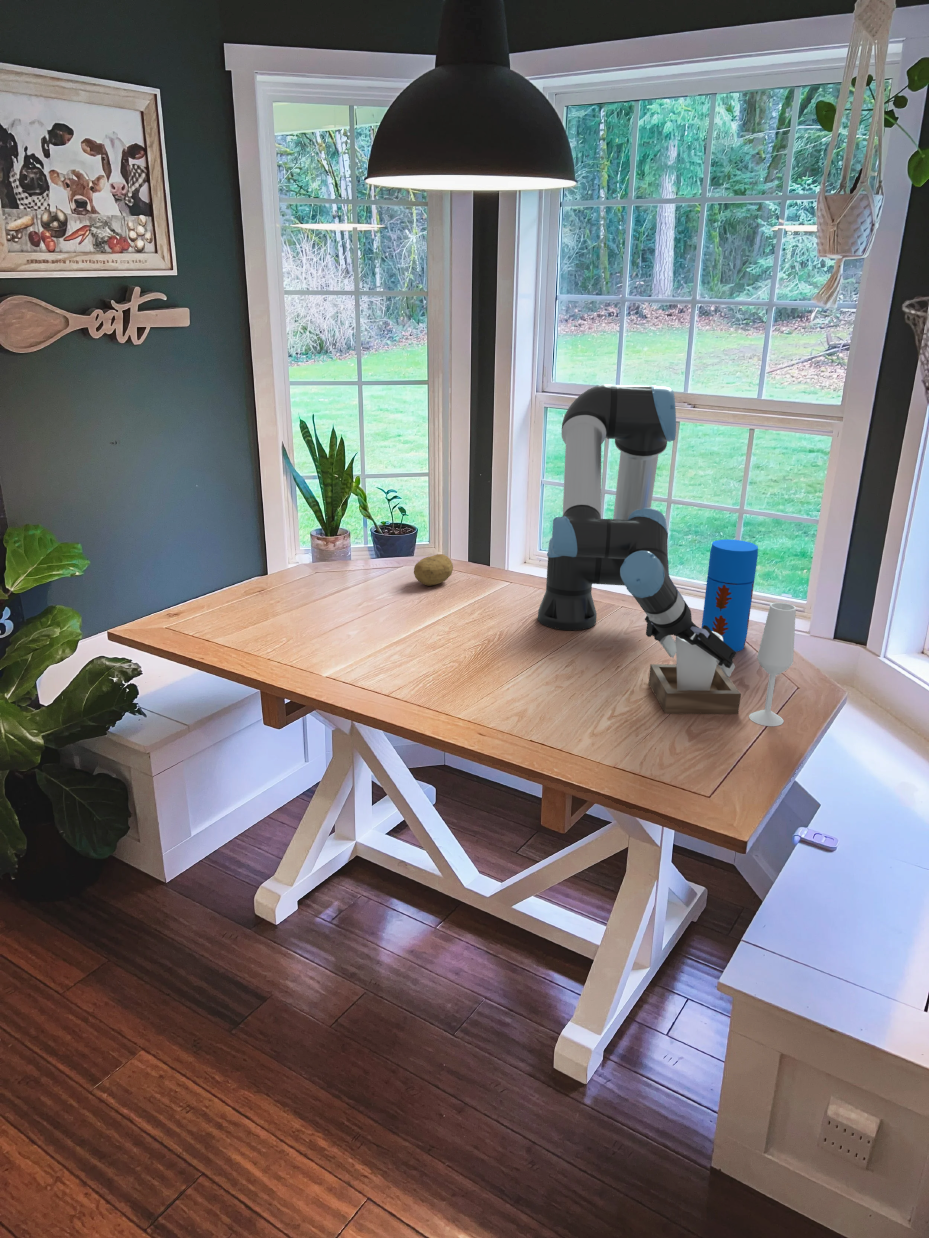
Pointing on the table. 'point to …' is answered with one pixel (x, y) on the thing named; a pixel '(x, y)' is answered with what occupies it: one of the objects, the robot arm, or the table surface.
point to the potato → (433, 569)
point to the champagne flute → (775, 655)
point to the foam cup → (694, 666)
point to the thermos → (730, 590)
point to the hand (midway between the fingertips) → (702, 661)
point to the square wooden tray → (693, 693)
